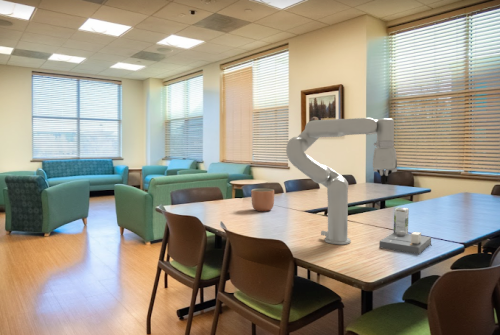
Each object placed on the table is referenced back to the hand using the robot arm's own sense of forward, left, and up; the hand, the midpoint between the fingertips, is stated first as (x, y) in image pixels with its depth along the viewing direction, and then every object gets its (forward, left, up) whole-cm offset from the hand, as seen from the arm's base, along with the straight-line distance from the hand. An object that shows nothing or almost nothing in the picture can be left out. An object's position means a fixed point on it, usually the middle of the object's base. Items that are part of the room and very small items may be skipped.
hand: (384, 183), depth 169 cm
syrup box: (+1, +23, -29) cm, 37 cm away
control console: (+8, +5, -29) cm, 31 cm away
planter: (-102, +39, -29) cm, 113 cm away
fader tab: (+14, +1, -26) cm, 29 cm away
